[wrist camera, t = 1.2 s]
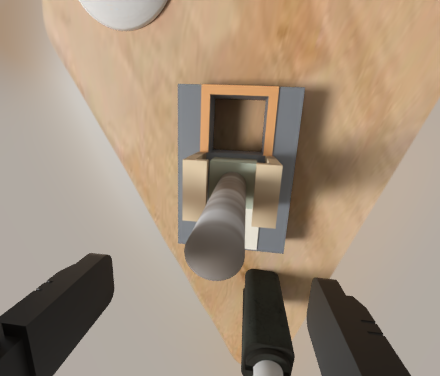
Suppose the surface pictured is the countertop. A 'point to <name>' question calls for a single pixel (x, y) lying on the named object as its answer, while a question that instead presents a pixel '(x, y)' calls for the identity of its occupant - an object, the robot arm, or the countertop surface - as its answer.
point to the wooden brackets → (263, 190)
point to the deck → (271, 146)
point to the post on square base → (222, 220)
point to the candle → (265, 327)
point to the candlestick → (124, 12)
